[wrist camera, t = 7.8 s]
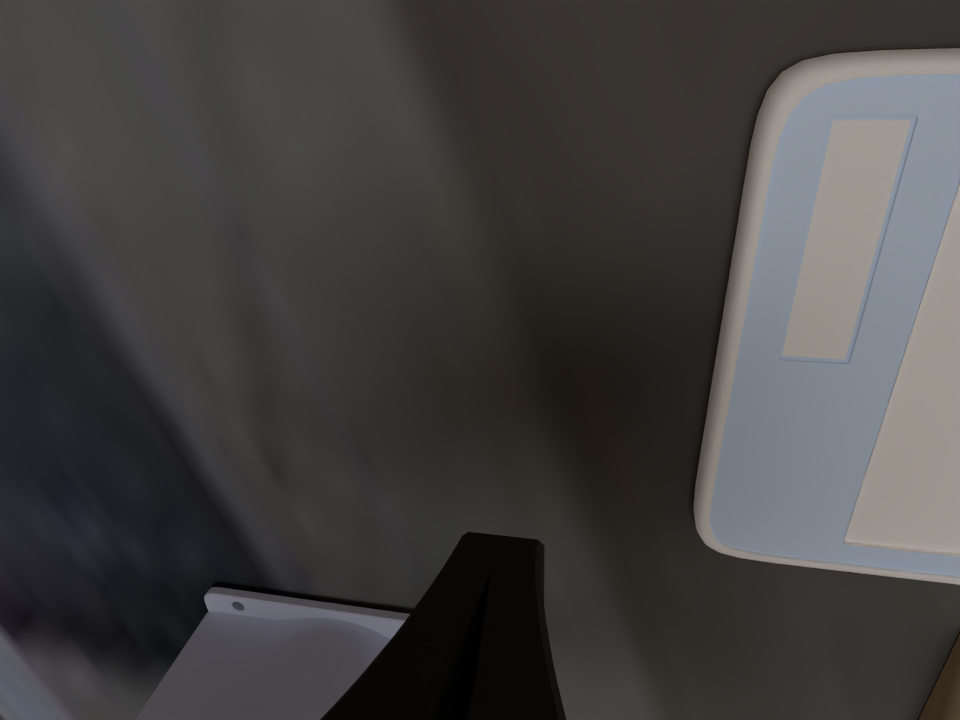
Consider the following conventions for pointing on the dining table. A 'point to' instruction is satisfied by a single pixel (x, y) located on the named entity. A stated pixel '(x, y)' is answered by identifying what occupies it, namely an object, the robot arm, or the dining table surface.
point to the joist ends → (946, 691)
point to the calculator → (843, 326)
